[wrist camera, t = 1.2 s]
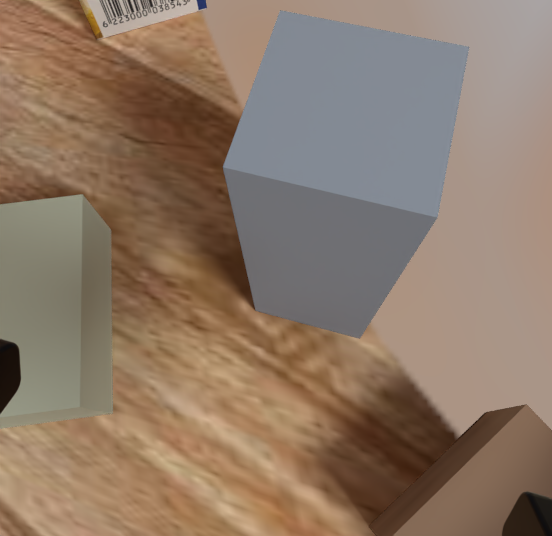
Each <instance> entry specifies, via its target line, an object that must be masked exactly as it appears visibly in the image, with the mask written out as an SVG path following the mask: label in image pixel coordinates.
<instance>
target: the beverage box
mask: <svg viewBox="0 0 552 536" xmlns="http://www.w3.org/2000/svg"><path fill="white" fill-rule="evenodd" d="M79 2H80V4H81V6H82V9H83V11H84V13H85V15H86V17H87V19H88V22H89V24H90V26H91V28H92V30H93V32H94V34H95V37H96V39H97V40H99V39H102V38H106V37H109V36H113V35H116V34H120V33H123V32H127V31H131V30H134V29H138V28H141V27H145V26H148V25H152V24H155V23H159V22H162V21H166V20H169V19H173V18H176V17H180V16H183V15H187V14H190V13H194V12H197V11H201V10H204V9H207V6H206V0H79Z"/></svg>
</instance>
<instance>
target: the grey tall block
mask: <svg viewBox="0 0 552 536" xmlns="http://www.w3.org/2000/svg"><path fill="white" fill-rule="evenodd" d="M468 50H469V47H467V46H462V45H457V44H452V43H447V42H441V41H436V40H431V39H426V38H421V37H416V36H410V35H405V34H400V33H395V32H390V31H384V30H379V29H374V28H369V27H364V26H358V25H353V24H348V23H343V22H338V21H332V20H327V19H322V18H317V17H312V16H307V15H302V14H297V13H291V12H286V11H280V13H279V15H278V18H277V21H276V23H275V26H274V29H273V32H272V34H271V37H270V40H269V43H268V45H267V48H266V51H265V53H264V56H263V59H262V62H261V64H260V67H259V70H258V73H257V76H256V78H255V81H254V83H253V86H252V89H251V92H250V95H249V97H248V100H247V103H246V105H245V108H244V111H243V114H242V116H241V119H240V122H239V124H238V127H237V130H236V133H235V135H234V138H233V141H232V144H231V146H230V149H229V152H228V154H227V157H226V160H225V163H224V165H223V170H224V175H225V179H226V183H227V188H228V192H229V196H230V201H231V205H232V210H233V214H234V218H235V223H236V227H237V231H238V236H239V240H240V245H241V249H242V253H243V258H244V262H245V267H246V271H247V275H248V280H249V284H250V288H251V293H252V297H253V302H254V306H255V310H256V311H259V312H262V313H266V314H270V315H273V316H277V317H281V318H285V319H288V320H292V321H296V322H300V323H303V324H307V325H311V326H315V327H318V328H322V329H326V330H330V331H333V332H337V333H341V334H345V335H348V336H352V337H356V338H359V339H360V337H361V336H362V334H363V333H364V331H365V330H366V328H367V326H368V325H369V323H370V322H371V320H372V319H373V317H374V316H375V314H376V312H377V311H378V309H379V308H380V306H381V305H382V303H383V302H384V300H385V298H386V297H387V295H388V294H389V292H390V291H391V289H392V287H393V286H394V284H395V283H396V281H397V280H398V278H399V277H400V275H401V274H402V272H403V270H404V269H405V267H406V266H407V264H408V263H409V261H410V259H411V258H412V256H413V255H414V253H415V252H416V250H417V249H418V247H419V245H420V244H421V242H422V241H423V239H424V238H425V236H426V235H427V233H428V231H429V230H430V228H431V227H432V225H433V224H434V222H435V220H436V219H437V217H438V212H439V206H440V201H441V196H442V190H443V185H444V179H445V174H446V168H447V163H448V157H449V153H450V147H451V142H452V137H453V131H454V126H455V120H456V115H457V109H458V104H459V99H460V93H461V88H462V83H463V77H464V72H465V66H466V61H467V56H468Z"/></svg>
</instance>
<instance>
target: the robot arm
mask: <svg viewBox="0 0 552 536" xmlns="http://www.w3.org/2000/svg"><path fill="white" fill-rule="evenodd" d="M20 382H21V367H20V351H19V347H18V346H17V344H15V343H14V342H10V341H7V340H3V339H0V414H1V413H2V411H3V410H4V409H5V407H6V406H7V405H8V403H9V402H10V401H11V399H12V398H13V396H14V395H15V394H16V392H17V390H18V388H19V386H20ZM502 536H552V499H551V498H549V497H547V496H543V495H540V494H536V493H533V492H529V491H526V492H523V493H522V494H521V495H520V496H519V498H518V499H517V501H516V503H515V505H514V507H513V508H512V510H511V512H510V514H509V516H508V517H507V519H506V521H505V523H504V526H503V530H502Z"/></svg>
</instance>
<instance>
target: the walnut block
mask: <svg viewBox="0 0 552 536" xmlns="http://www.w3.org/2000/svg"><path fill="white" fill-rule="evenodd" d="M526 491H529V492H533V493H536V494H540V495H543V496H547V497H549V498H551V499H552V430H551V429H550V428H549V427H548V426H547V425H546V424H545V423H544V422H543V421H542V420H541V419H540V418H539V417H538V416H537V415H536V414H535V413H534V412H533V411H532V409H531V408H530V407H529V406H528V405H521V406H516V407H511V408H505V409H500V410H495V411H490V412H486V413H484V414H483V415H482V416H481V417H480V418H479V419H478V420H477V421H476V422H475V423H474V424H473V425H472V426H471V427H469V428H468V429H467V430H466V431H465V432H464V433H463V434H462V435H461V436H460V439H459V440H457V441H456V442H455V443H454V444H453V445H452V446H451V447H450V448H449V449H448V450H447V451H446V452H445V453H444V454H443V455H442V456H441V457H440V458H439V459H438V460H437V461H436V462H435V463H434V464H433V465H432V466H430V467H429V468H428V469H427V470H426V471H425V472H424V473H423V474H422V475H421V476H420V477H419V478H418V479H417V480H416V481H415V482H414V483H413V484H412V485H411V486H410V487H409V488H408V489H407V490H406V491H404V492H403V493H402V494H401V495H400V496H399V497H398V498H397V499H396V500H395V501H394V502H393V503H392V504H391V505H390V506H389V507H388V508H387V509H386V510H385V511H384V512H383V513H382V514H381V515H380V516H378V517H377V518H376V519H375V520H374V521H373V522H372V523H371V524H370V525H369V527H370V528H371V530H372V531H373V532H374V533H375V535H376V536H502V530H503V526H504V523H505V521H506V519H507V517H508V516H509V514H510V512H511V510H512V508H513V507H514V505H515V503H516V501H517V499H518V498H519V496H520V495H521V494H522V493H523V492H526Z"/></svg>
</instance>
